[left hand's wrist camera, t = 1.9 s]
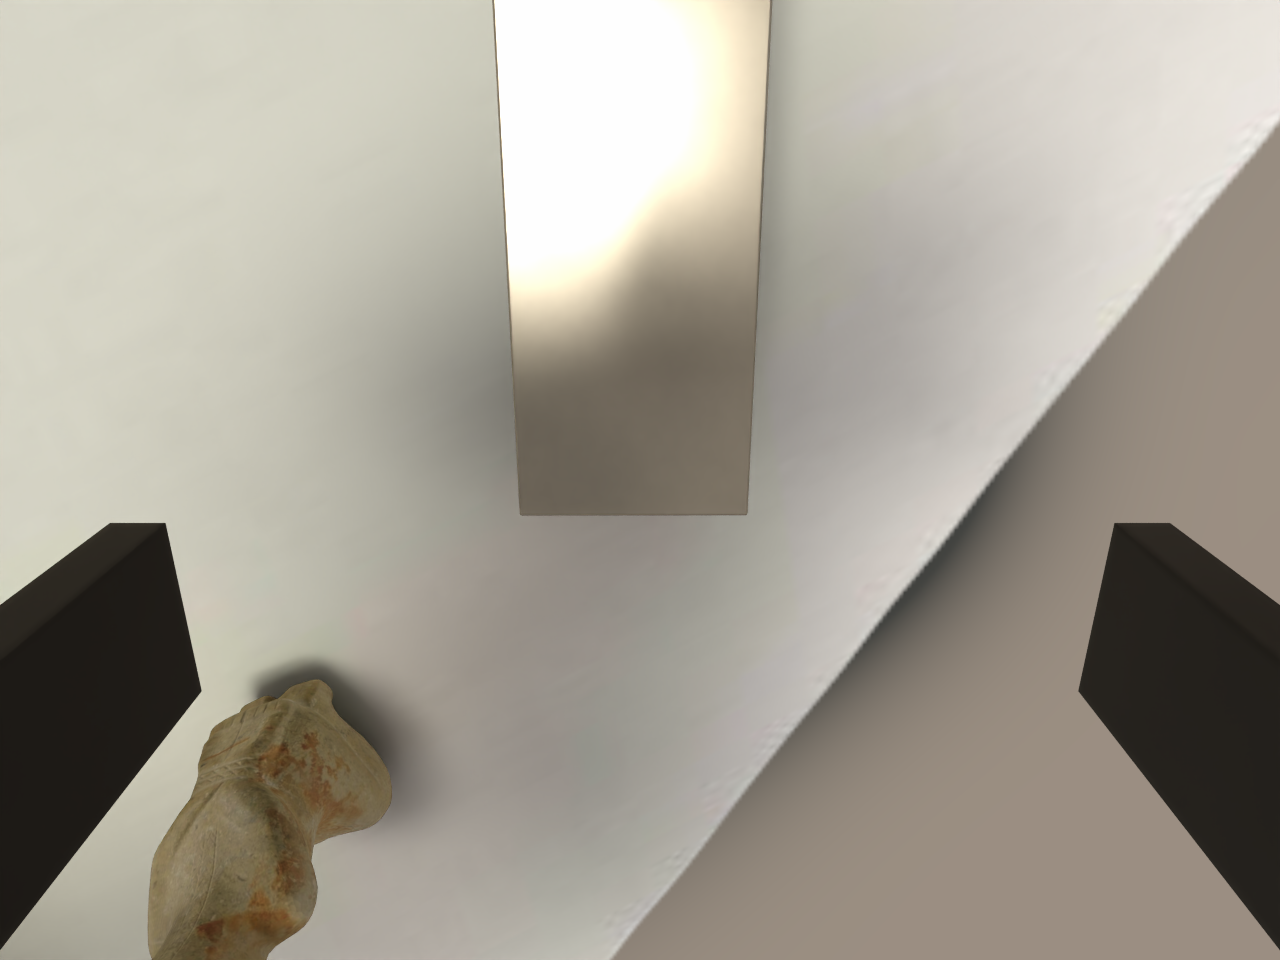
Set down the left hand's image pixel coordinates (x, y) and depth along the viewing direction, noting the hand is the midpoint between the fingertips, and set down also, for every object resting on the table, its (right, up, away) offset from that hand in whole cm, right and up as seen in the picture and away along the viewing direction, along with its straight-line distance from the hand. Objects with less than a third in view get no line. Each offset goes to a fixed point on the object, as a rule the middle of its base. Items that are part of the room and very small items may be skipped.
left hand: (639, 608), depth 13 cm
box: (0, +14, +16) cm, 21 cm away
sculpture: (-13, -9, +25) cm, 29 cm away
